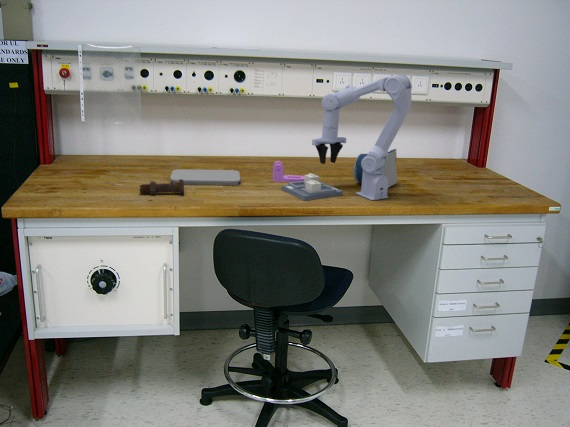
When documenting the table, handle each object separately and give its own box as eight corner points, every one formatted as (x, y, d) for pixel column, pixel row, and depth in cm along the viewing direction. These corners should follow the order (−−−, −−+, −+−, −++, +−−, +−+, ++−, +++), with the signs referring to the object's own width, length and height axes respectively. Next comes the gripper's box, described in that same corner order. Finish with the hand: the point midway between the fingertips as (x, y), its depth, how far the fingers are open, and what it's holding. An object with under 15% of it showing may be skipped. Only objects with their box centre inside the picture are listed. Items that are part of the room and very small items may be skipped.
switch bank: (342, 195, 207) (343, 188, 206) (304, 200, 198) (304, 194, 197) (318, 184, 219) (318, 178, 218) (281, 189, 210) (281, 183, 209)
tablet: (240, 186, 212) (240, 181, 212) (170, 186, 209) (169, 180, 208) (238, 175, 228) (238, 170, 227) (172, 174, 224) (172, 169, 223)
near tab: (320, 191, 203) (321, 181, 201) (311, 193, 201) (312, 182, 199) (314, 189, 206) (314, 178, 205) (305, 190, 204) (305, 180, 203)
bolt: (140, 198, 197) (184, 197, 200) (139, 195, 193) (184, 193, 195) (140, 182, 199) (183, 181, 201) (138, 178, 194) (183, 177, 196)
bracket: (273, 181, 221) (274, 164, 218) (272, 178, 226) (273, 161, 224) (306, 182, 221) (307, 165, 219) (305, 179, 227) (306, 162, 224)
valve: (398, 183, 225) (397, 145, 221) (381, 191, 213) (380, 151, 209) (367, 182, 232) (366, 145, 229) (350, 189, 220) (349, 151, 217)
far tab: (318, 184, 212) (319, 175, 210) (309, 185, 210) (310, 176, 208) (312, 182, 215) (313, 172, 214) (303, 183, 213) (304, 173, 211)
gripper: (339, 124, 216) (336, 159, 220) (308, 126, 209) (305, 162, 213) (350, 127, 211) (347, 163, 215) (319, 129, 203) (316, 166, 207)
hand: (327, 162), depth 213 cm, fingers open, 4 cm apart
